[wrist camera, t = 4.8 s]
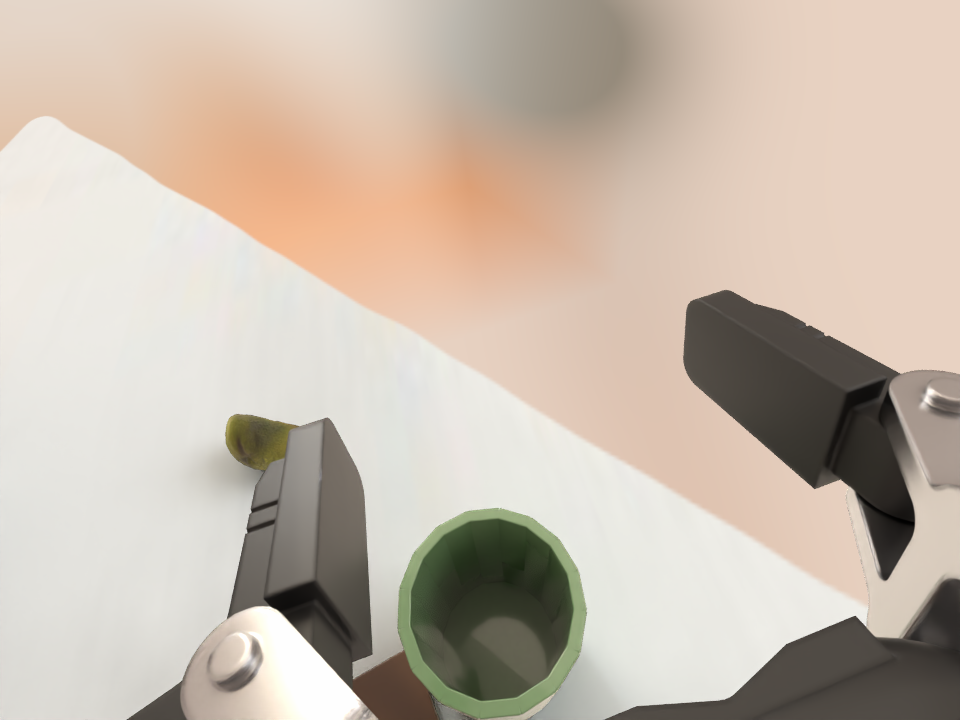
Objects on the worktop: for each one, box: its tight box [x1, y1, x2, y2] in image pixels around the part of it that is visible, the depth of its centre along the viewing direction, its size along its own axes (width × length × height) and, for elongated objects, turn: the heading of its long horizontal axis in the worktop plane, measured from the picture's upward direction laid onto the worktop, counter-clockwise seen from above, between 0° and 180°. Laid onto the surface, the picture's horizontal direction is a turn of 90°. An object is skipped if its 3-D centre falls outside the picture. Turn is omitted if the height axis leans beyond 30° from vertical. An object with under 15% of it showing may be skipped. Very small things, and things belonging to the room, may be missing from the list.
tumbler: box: [398, 508, 587, 720], centre depth 20 cm, size 6×6×10 cm
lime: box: [225, 414, 300, 470], centre depth 30 cm, size 4×5×5 cm
